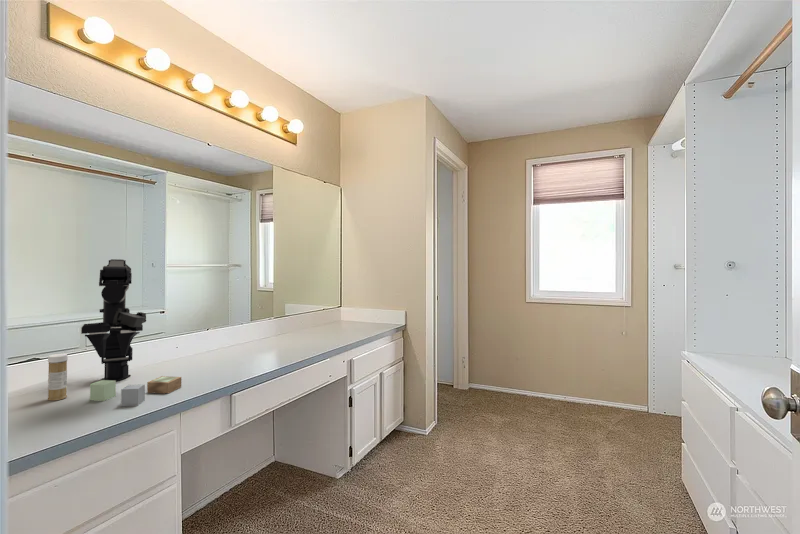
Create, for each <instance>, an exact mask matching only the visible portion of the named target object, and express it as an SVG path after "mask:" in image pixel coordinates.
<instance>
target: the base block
mask: <svg viewBox="0 0 800 534" xmlns="http://www.w3.org/2000/svg"><path fill="white" fill-rule="evenodd" d="M146 385H147V387H146V389H147V390H146V393H148V394H149V393H150V394H165V393H168V394H170V393H172V392H174V391H176V390H178V389H181V388H182V376H165V375H164V376H163V375H161V376H159V377H156V378H155V379H151V380H149V381H147V383H146Z"/></svg>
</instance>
